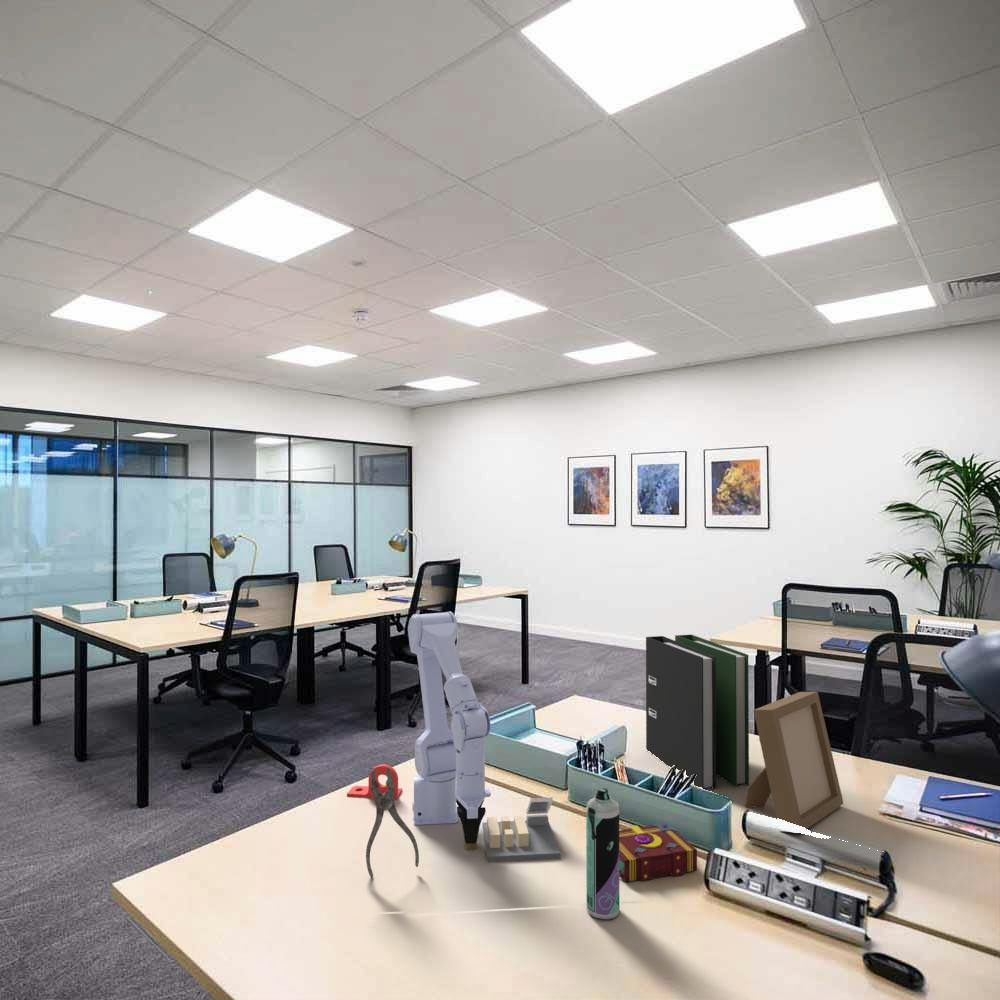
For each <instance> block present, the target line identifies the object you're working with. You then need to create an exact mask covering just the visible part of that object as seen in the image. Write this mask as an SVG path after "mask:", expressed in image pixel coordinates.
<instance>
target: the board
mask: <svg viewBox="0 0 1000 1000" xmlns="http://www.w3.org/2000/svg"><path fill="white" fill-rule="evenodd" d="M481 823H482V824H481V825H482V833H483V838H484V839H483V840H484V844H485V845H484V847H485V853H486V859H487V862H488V863H490V862H491V863H492V862H493V863H494V862H495V863H496V862H511V861H534V860H535V861H536V860H551V859H561V850H560V849H559V846H558V843H557V840H556V838H555V835H554V832H553V830H552V827H551V824H550V821H549V816H548V814H526V820H525V816H524V815H513V820H511V818H510V816H501V821H498V818H497V816H493V817H491V816H488V817H486V822H485V821H483V822H481Z"/></svg>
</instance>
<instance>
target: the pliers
mask: <svg viewBox="0 0 1000 1000" xmlns="http://www.w3.org/2000/svg"><path fill="white" fill-rule="evenodd" d="M389 766H390V765H389ZM389 766H387V776H386V778H387V779H386V781H385V785H386V786H388V787H389V788H388V790H386V791H385V793H382V792H379V791H378V790H377V789H378V788H379V783H380V782H379V783H378V782H377V781H376V775H375V772H374V768H372V769H371V771H372V778H371V791H372V794H373V798H372V799H373V800H374V803H375V808H376V809H375V811H376V815H375V821H374V824H373V827H372V829H371V833H370V835H369V839H368V840H367V844H366V850H365V863H366V864H365V865H366V869H367V872H368V875H369V877H370V878H371V879H372V878H374V873H373V869H372V866H371V850H372V846H373V843H374V842H375V841H374V840H375V838H376V836H377V834H378V832H379V829H380V828H381V825H382V821H383V818H384V813H385V811H388V813H389V814H390V817H392V819H393V820H394V822H395V823H396V824H397V825H398V826H399V827H400V829H402V830H403V832H404V833H405V834H406V835H407V837H409V839H410V841H411V843H412V845H413V850H414V856H415V858H414V860H415V862H414V863H415V865H414V866H415V867H416V868H417V867H419V863H420V856H419V855H420V853H419V852H420V851H419V847H418V843H417V840H416V838H415V836H414V834H413V832H412V831H411V829H410V828H409V827H408V826H407V824H406V823H405V821H404V820H403V819H402V817H401V816H400V814H399V813H398V811H397V807H396V803H395V799H394V789H395V782H394V780H393V777H392V774H391V772H390V769H389Z"/></svg>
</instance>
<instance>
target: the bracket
mask: <svg viewBox="0 0 1000 1000" xmlns="http://www.w3.org/2000/svg"><path fill="white" fill-rule="evenodd" d="M387 766H389V769H390V772H391V774H392V777H393V780H394V782H395V789H394V800H398V798H399V797H400V795H401V794H402V793H403V788H402V787H401V788H399V776H398V773H397V770H396V769H395V768H393V767H392V766H391V765H389V764H385V763H384V764H383V763H382V764H378V765H376V766H375V767H374V768H373V769H374V772H375V775H376V781H377V782H378V783H379V788H378V789H377V790H378V791H379V792H382V793H385V791H386V790H388V788H389V787H388V786H386V784H382V783H381V782H380V780H379V776H382V775H383V776H385V777H387ZM371 778H372V770H371V771H370V773H369V775H368V786H367V785H364V786H363V785H354V786H352V787H351V788H350V789H349V790H348V792H347V793H346V797H355V798H357V797H358V798H369V799H371V798H372V799H374V798H373V794H372V791H371Z"/></svg>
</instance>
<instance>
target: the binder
mask: <svg viewBox="0 0 1000 1000" xmlns="http://www.w3.org/2000/svg"><path fill="white" fill-rule="evenodd" d="M645 689H646V690H645V716H646V717H645V718H646V719H645V730H646V731H645V734H646V735H645V736H646V737H645V740H646V741H645V747H646V749H647V750H648V751H650V752H651V753H652V754H654V755H655V756H656V757H658V758H659V759H660V760H661V761H663V762H664V763H665V764H666V765H665V764H664V763H663V762H662V763H663V764H664V765H665V766H667V765H668V766H670V767H672V766H673V765H677V769H678V770H682V769H685V770H686V775H687V776H691V775H693V774H697V776H696V778H695V780H694V785H695V786H698V787H702V788H705V789H706V788H712V787H713V788H712V789H713V790H714V791H716V790H717V776H718V777H719V778H721V779H722V778H723V779H722V780H723V781H725V780H726V781H725V782H727V784H729V785H731V784H732V785H731V786H733V787H734V786H735V787H734V788H736V787H738V786H737V785H738V784H739V785H740V784H745V786H747V787H748V786H749V785H750V756H749V755H750V742H749V741H750V734H749V731H750V727H749V725H750V724H749V721H750V720H749V719H750V716H749V710H750V709H749V705H750V704H749V699H750V698H749V697H750V696H749V691H750V690H749V689H750V688H749V654H748V653H745V652H741V651H739V650H736V649H733V648H731V647H728V646H725V645H722V644H719V643H717V642H713V641H711V640H709V639H705V638H702V637H700V636H696V635H694V634H678V635H674V639H671V638H669V637H666V636H663V635H658V636H656V635H655V636H645ZM648 751H647V752H648ZM652 754H651V755H652ZM656 757H655V758H656ZM659 759H658V760H659ZM660 760H659V761H660ZM661 761H660V762H661ZM668 766H667V767H668ZM694 785H693V786H694ZM695 786H694V787H695ZM715 789H716V790H715Z"/></svg>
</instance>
